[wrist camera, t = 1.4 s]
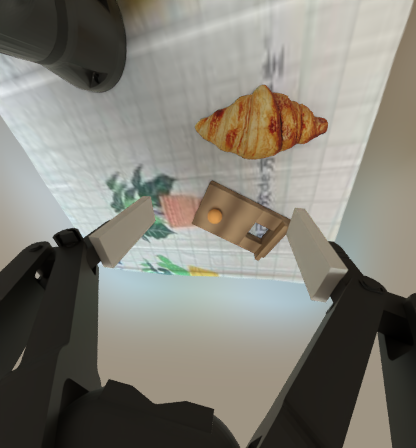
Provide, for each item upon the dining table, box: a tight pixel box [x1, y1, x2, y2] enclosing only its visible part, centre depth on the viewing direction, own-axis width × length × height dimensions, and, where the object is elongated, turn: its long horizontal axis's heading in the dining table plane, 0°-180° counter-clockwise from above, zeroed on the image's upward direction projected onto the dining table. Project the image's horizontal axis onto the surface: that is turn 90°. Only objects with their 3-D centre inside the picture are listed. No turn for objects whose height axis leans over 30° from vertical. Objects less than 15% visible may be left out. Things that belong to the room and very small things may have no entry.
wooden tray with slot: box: [192, 181, 291, 261], centre depth 36 cm, size 20×11×4 cm, turn 66°
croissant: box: [195, 85, 328, 159], centre depth 26 cm, size 21×10×8 cm, turn 91°
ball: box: [207, 209, 222, 224], centre depth 34 cm, size 3×3×3 cm
